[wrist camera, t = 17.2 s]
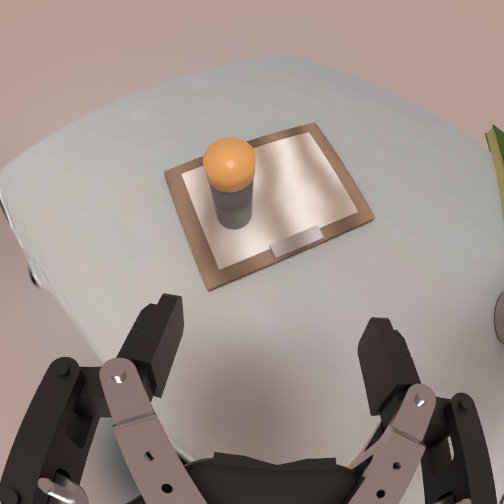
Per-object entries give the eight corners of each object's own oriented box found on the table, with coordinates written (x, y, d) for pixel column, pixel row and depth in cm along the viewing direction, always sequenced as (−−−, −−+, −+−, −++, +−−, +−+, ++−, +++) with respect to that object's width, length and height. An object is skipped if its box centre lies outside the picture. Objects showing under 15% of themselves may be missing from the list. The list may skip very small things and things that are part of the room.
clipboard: (313, 126, 37) (316, 118, 36) (372, 220, 34) (377, 215, 32) (165, 175, 34) (162, 168, 33) (208, 291, 31) (206, 289, 29)
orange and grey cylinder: (244, 191, 33) (244, 131, 22) (258, 222, 32) (264, 169, 21) (210, 204, 32) (196, 147, 22) (223, 235, 31) (212, 187, 21)
